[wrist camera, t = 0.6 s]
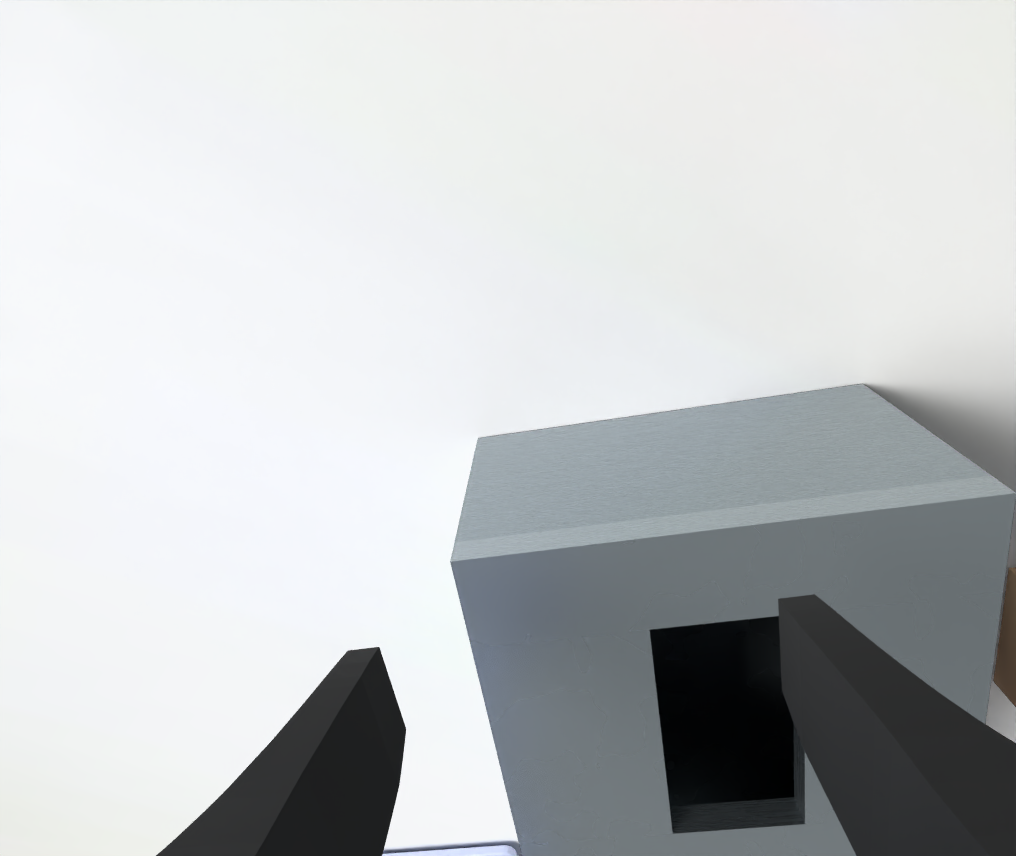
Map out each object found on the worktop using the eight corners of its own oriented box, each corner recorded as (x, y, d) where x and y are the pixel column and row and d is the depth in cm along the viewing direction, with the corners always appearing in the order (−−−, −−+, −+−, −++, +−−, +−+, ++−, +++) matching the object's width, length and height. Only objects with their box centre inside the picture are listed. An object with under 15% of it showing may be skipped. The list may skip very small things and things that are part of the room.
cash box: (849, 797, 27) (947, 1002, 20) (557, 820, 28) (562, 1019, 22) (863, 383, 20) (1016, 493, 14) (477, 438, 21) (450, 561, 15)
